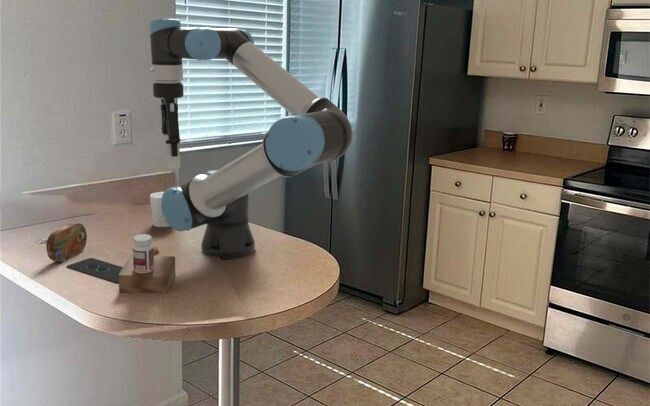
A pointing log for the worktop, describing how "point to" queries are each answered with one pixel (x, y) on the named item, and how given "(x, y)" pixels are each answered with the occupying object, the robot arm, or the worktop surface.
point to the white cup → (157, 210)
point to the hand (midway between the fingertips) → (171, 163)
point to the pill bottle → (143, 254)
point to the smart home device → (98, 269)
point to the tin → (66, 242)
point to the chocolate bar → (156, 251)
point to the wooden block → (147, 276)
